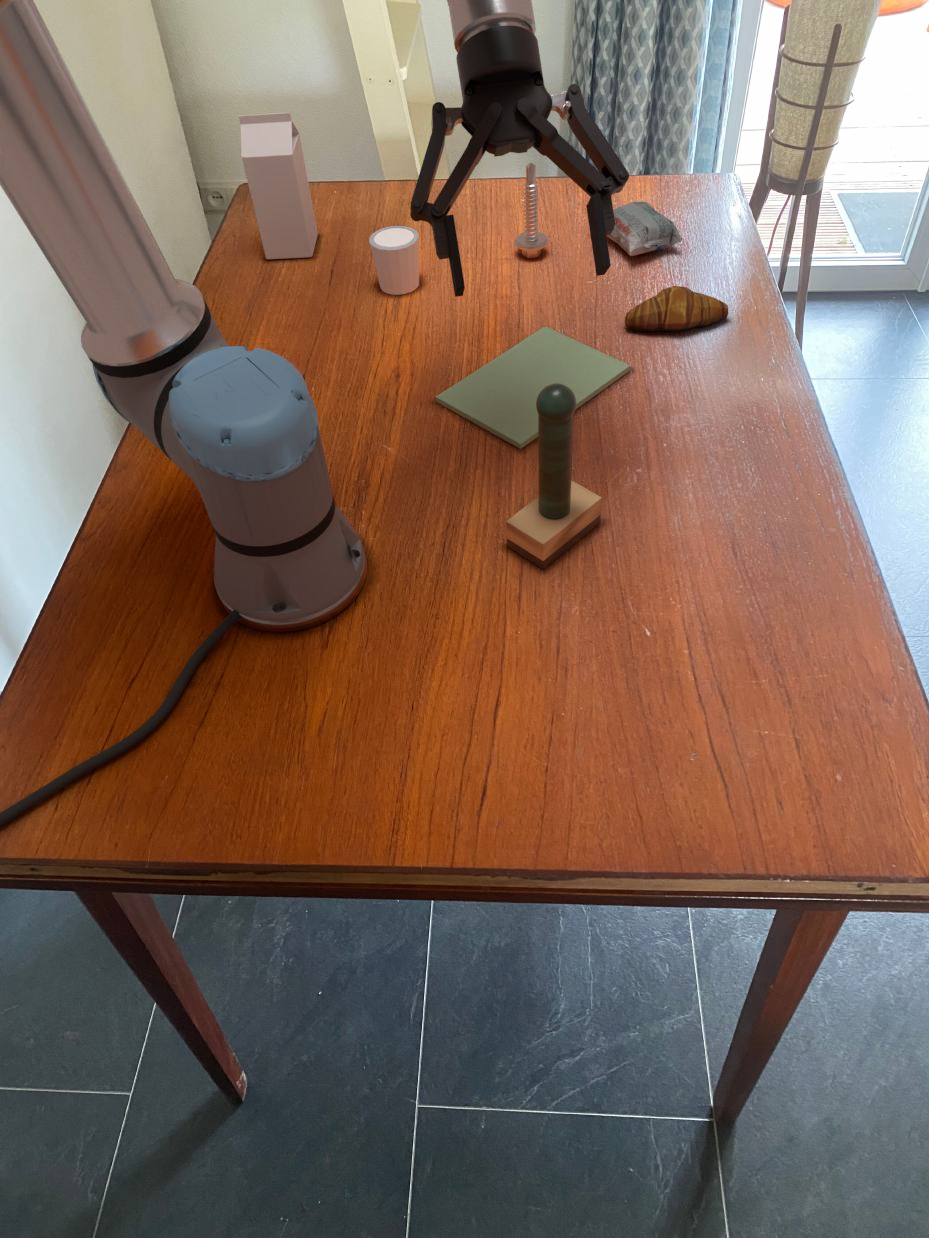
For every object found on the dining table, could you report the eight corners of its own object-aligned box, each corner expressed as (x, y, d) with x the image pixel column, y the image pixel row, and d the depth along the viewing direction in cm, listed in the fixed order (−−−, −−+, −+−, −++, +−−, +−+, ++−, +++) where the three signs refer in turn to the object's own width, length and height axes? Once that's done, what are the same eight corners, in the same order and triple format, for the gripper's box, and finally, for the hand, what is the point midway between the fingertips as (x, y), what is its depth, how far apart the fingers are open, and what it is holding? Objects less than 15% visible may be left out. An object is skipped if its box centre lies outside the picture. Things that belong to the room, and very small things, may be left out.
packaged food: (629, 270, 128) (632, 236, 124) (588, 235, 135) (590, 201, 131) (682, 255, 130) (686, 221, 126) (639, 221, 137) (642, 188, 133)
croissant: (719, 305, 120) (725, 269, 117) (733, 332, 116) (740, 297, 112) (618, 315, 120) (621, 280, 117) (629, 343, 116) (632, 308, 112)
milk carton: (312, 258, 136) (286, 123, 121) (266, 260, 136) (234, 126, 122) (318, 235, 140) (293, 102, 126) (273, 237, 141) (243, 105, 126)
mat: (520, 449, 103) (520, 444, 103) (435, 402, 110) (435, 396, 110) (630, 370, 112) (630, 365, 111) (544, 331, 119) (544, 325, 118)
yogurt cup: (432, 278, 130) (428, 231, 124) (405, 301, 126) (399, 253, 121) (394, 268, 132) (388, 221, 127) (366, 290, 129) (358, 242, 123)
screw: (553, 249, 133) (540, 264, 130) (522, 243, 134) (509, 259, 132) (554, 157, 123) (540, 172, 120) (521, 152, 125) (507, 167, 122)
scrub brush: (543, 569, 91) (543, 422, 77) (506, 546, 93) (501, 399, 80) (600, 523, 95) (610, 374, 81) (563, 502, 97) (568, 354, 84)
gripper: (619, 50, 87) (651, 274, 89) (362, 84, 85) (399, 312, 87) (640, 2, 79) (674, 248, 81) (358, 39, 78) (399, 289, 80)
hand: (532, 282), depth 84 cm, fingers open, 13 cm apart
